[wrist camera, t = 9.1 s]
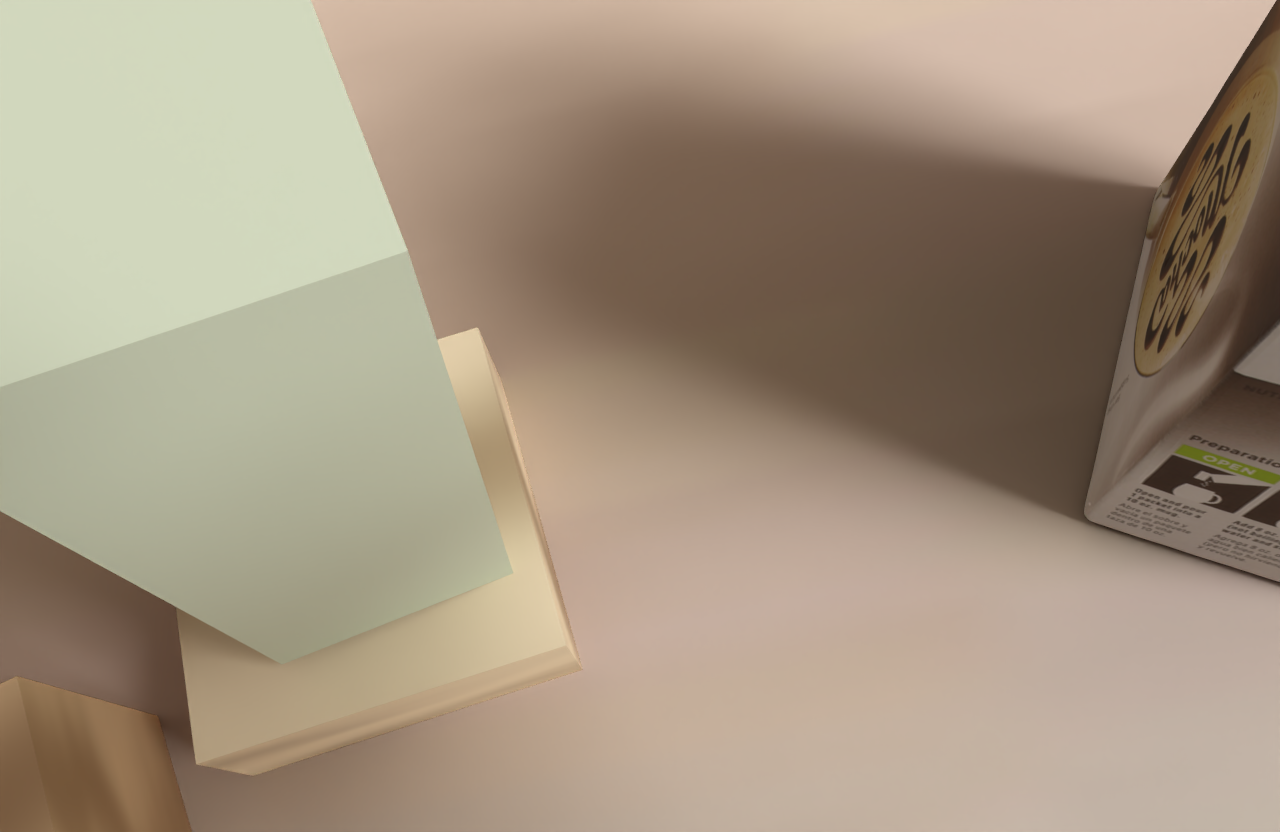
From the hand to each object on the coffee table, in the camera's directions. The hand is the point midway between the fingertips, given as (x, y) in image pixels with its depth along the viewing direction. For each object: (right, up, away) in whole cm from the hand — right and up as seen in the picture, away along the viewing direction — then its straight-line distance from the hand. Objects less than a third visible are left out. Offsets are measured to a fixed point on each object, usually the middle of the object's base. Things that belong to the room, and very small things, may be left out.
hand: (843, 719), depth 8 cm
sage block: (-7, +1, +12) cm, 14 cm away
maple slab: (-7, -1, +15) cm, 17 cm away
